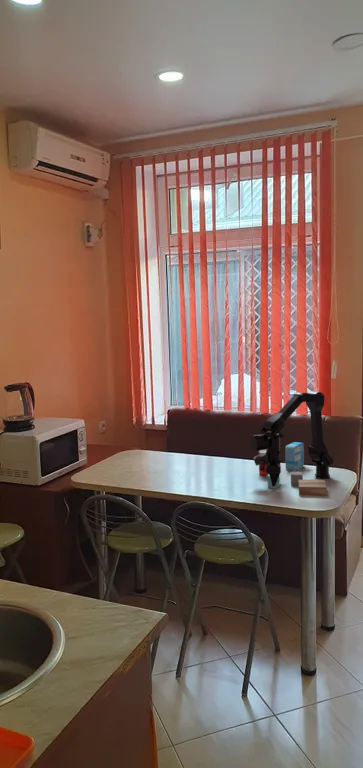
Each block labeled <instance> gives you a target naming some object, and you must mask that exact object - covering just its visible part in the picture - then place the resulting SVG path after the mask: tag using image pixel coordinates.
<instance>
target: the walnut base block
mask: <svg viewBox="0 0 363 768" xmlns="http://www.w3.org/2000/svg"><path fill="white" fill-rule="evenodd" d="M326 483H327V482H326V480H325V479H303V480H298V486H297V487H298V488H297V489H298V495H299V496H303V497H305V496H307V497H308V496H310V497H311V496H312V497H327V493H328V492H327V489H328V487H327V484H326Z"/></svg>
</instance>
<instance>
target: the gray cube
mask: <svg viewBox="0 0 363 768" xmlns="http://www.w3.org/2000/svg"><path fill="white" fill-rule="evenodd" d="M303 477H304V476H303V471H290V486H291V487H292V486H293V487H298V480H304V478H303Z"/></svg>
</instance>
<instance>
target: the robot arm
mask: <svg viewBox="0 0 363 768" xmlns="http://www.w3.org/2000/svg"><path fill="white" fill-rule="evenodd" d="M292 395H293V396H292V397H291V398H290V399H289V400H288V401H287V402H286V403H285V405H284V406H283V407H281V409H280V410H278V411H277V412H276V413H275V414H273V415H271V416H269V417H268V418H267V419H266V420H264V423H263V424H264V425H263V426H262V428H261V429H260V431H259V433H258V434H252V437H251V439H250V441H249V447H250V449H251V451H253V452H259V451H260V450H266V453H264V454H260V455H259V454H258V455H256V456H254V457H253V460H254V464H255V466H259V464H262V463H265V462H266V464H267V465H266V473H268V474H269V475H270V478H271V483H272V486H275V485H276V482H277V480H278V477H279V478H280V476H281V475H280V474H281V471H282V467H281V461H282V458H281V439H282V438H285V434H284V435H283V434H282V433H281V432H282V430H283V429H284V428H285V426H286V421H287V420H288V419H289V418H290V417H291V416H292V415H293V414H294V413H295V411H296V410H297V409H298V408H299V407H300V406H301V405H302V403H304V402H305V404H306V406H307V408H308V410H309V413H310V425H311V428H310V429H311V439H312V442H311V444H310V445H308V446H307V450H308V453H307V454H308V455H309V458H311V461H312V463H315V473H314V478H315V479H331V476H330V466H332V465H333V464H334V458H333V457H331V456H330V453H329V451H328V450H329V449H328V447H327V445H326V443H325V442H324V430H323V428H324V427H323V417H322V415H323V414H322V411H323V408H324V406H325V394H324V393H323V392H322V391H315V390H309V391H307V392H298V391H297V392H295V393H293V394H292Z"/></svg>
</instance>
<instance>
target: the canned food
mask: <svg viewBox="0 0 363 768" xmlns="http://www.w3.org/2000/svg"><path fill="white" fill-rule="evenodd" d="M266 450H267V449H266ZM266 450H259V451H258V455H260V454H264V453H266ZM266 465H267V464H266V462H265V463H262V464H259V465H258V472H259V473H258V474H259V476H262V477H268V473H266Z"/></svg>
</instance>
